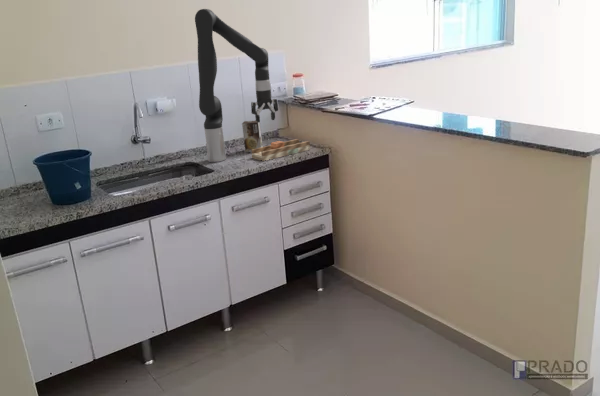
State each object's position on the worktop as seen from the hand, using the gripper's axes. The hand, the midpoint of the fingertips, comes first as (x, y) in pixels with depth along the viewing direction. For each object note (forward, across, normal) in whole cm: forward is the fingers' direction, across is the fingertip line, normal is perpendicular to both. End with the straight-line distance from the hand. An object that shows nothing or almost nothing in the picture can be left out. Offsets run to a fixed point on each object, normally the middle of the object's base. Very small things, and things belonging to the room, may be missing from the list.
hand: (265, 121), depth 282 cm
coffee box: (+19, +2, +20) cm, 28 cm away
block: (+16, +6, 0) cm, 17 cm away
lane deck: (+19, +8, 0) cm, 20 cm away
